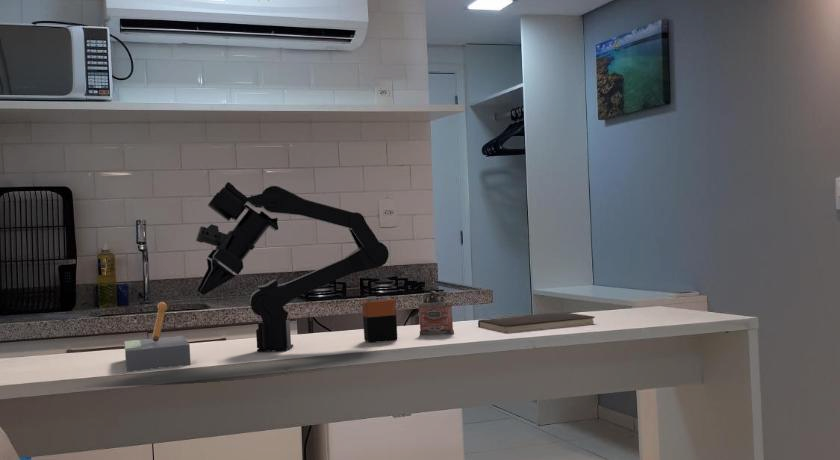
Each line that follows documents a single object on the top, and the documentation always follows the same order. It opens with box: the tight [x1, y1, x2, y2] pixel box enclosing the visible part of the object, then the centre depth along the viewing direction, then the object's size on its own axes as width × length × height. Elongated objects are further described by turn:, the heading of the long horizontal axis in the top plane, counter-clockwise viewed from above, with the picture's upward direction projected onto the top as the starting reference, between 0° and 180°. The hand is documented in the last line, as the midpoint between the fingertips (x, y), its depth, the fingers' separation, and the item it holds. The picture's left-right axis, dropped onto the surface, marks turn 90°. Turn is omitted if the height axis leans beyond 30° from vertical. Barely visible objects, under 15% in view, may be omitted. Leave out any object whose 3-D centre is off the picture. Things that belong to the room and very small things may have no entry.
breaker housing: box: [124, 335, 191, 372], centre depth 166 cm, size 12×18×4 cm, turn 21°
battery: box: [361, 295, 398, 344], centre depth 180 cm, size 4×7×10 cm, turn 108°
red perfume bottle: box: [417, 290, 455, 336], centre depth 186 cm, size 8×3×10 cm, turn 76°
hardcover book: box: [477, 311, 596, 334], centre depth 192 cm, size 16×23×2 cm
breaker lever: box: [151, 301, 168, 342], centre depth 166 cm, size 2×4×8 cm, turn 20°
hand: (200, 292), depth 170 cm, fingers open, 9 cm apart
